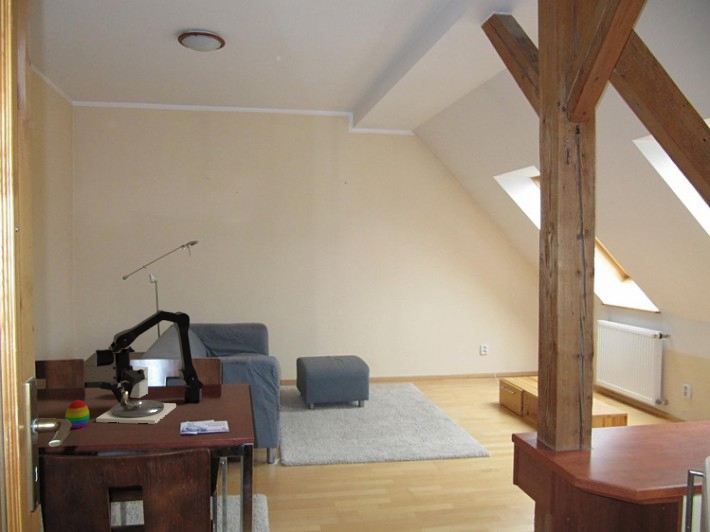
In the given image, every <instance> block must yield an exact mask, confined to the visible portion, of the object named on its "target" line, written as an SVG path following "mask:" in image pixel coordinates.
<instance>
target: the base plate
mask: <svg viewBox="0 0 710 532" xmlns="http://www.w3.org/2000/svg"><path fill="white" fill-rule="evenodd" d="M162 403H163V404H164V409H163V410H162V411H161V412H159V413H156V414H153V415H149V416H143V417H119V416H115V415H113V414H112V413H111V408H110V409H109V410H107V411H106V412H104V413H102V414H101V415H99V416H98V417H96V418H95V419H96V423H108V422H117V423H116V424H138V423H148V424H147V425H156V424H157V423H159V422H160V421H161V420H162V419H164V417H165V415H166V416H167V415H168V414H170V413H171V412H172V411H173V410H174V409H175V408H176V407H177V404H176V403H171V402H170V403H169V402H167V403H166V402H162ZM160 419H161V420H160ZM118 422H119V423H118ZM155 423H156V424H155Z"/></svg>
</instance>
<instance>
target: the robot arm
mask: <svg viewBox="0 0 710 532" xmlns="http://www.w3.org/2000/svg"><path fill="white" fill-rule="evenodd" d="M163 321H166V322H170V323H173V326H174V328H175V329H174V330H175V331H176V332H177V337H178V345H179V350H180V351H179V352H180V358H181V367H180V368H178V369H177V371H178V374H179V375H178V378H179V380H180V381H181V382H182V383H184V385H185V389H184V391H183V393H184V394H183V395H184V397H183V398H184V399H183V400H184V401H183V402H184V403H187V404H188V403H189V404H199V403H200V402H201V401H203V399H204V398H203V397H202V395H203V394H202V391H203V386H204V383H203V382H202V381H201V380H199V377H198V372H197V370H196V368H195V366H194V364H193V358H192V350H191V343H190V338H189V336H190V335H189V330H190V325H191V323H190V322H191V319H190V316H189V314H188V313H186V312H182V311H176V312H172V311H167V310H166V311H165V310H163V309H158V310H157V311H156V312H155V313H153V314H151V315H150V316H148V317H147V318H145V319H144V320H142V321H141V322H139V323H138V324H136V325H134V326H133V327H130V328H127V329H124V330H122V331H119V332H117V333H116V334H115V335H114V336H113V339H112V340H113V341H112V342H111V344H110V345H108V346H109V347H108V348H107V349H106V348H105V349H95V354H94V358H93V359H94V365H95V368H99V367H101V368H102V367H107V366H112V364H114V366H112V369H113V370H115V371H114V373H115V375H114V376H113V377H112V378H113V379H106V380H105V379H104V380H103V381H101V382H99V389H101V390H107V391H111V392H112V393H113V395H114V397H115V399H116V401H117V402H118V404H120V403H121V391H122V390H128V401H130V398H131V397H130V395H131V392H132V389H133V387H134V386H135V385H136V384H137V383H139V382H140V381H141V380H145V375H144V370H142V369H140V370H138V371H137V370H136V371H134V370H133V367H134V366H133V365H132V364H131V353H135V352H136V350H135V349H134V348H132V346H131V345H132V344H133V343H134V341H136V339H137V338H138V337H140V336H141V335H142V334H144V333H145V332H147V331H148V330H150V329H152V328H153V327H155V326H156V325H158V324H160V323H161V322H163ZM122 385H123V386H122Z"/></svg>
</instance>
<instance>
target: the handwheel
mask: <svg viewBox="0 0 710 532" xmlns="http://www.w3.org/2000/svg"><path fill="white" fill-rule="evenodd" d="M163 403H164V402H161V401H159V400H152V399H138V400H137V399H136V400H128V390H124V389H122V390H121V403H117V404H115V405H113V406H112V407H111V408H110V409H111V413H112V414H113V415H115V416H119V417H143V416H149V415H153V414H156V413H159V412H161V411H162V410H163V409H164V404H163Z"/></svg>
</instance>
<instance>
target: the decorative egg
mask: <svg viewBox="0 0 710 532" xmlns="http://www.w3.org/2000/svg"><path fill="white" fill-rule="evenodd" d="M64 417H65V419H68V420H70V421H71V423H72V427H71V428H70V429H73V428H76V429H81V428H80V427H82V428H84V427H86V426H87V424H88V423H89V420H90V410H89V407H88V406H87V404H86V403H85V402H84V401H83V400H82V399H81V400H80V399H75V400H73V401H72V402H71V403H70V404H69V405H68V406H67V408H66V412H65V416H64Z"/></svg>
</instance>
